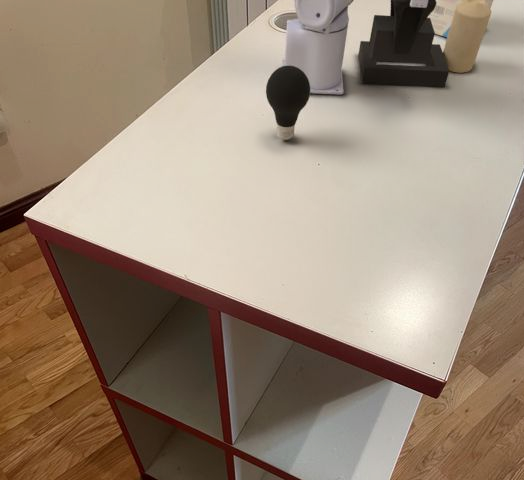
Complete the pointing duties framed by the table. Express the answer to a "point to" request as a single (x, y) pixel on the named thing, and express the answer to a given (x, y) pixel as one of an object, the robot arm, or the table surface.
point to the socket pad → (404, 70)
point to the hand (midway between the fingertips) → (398, 43)
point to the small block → (385, 34)
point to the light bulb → (287, 97)
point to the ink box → (445, 15)
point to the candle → (466, 34)
